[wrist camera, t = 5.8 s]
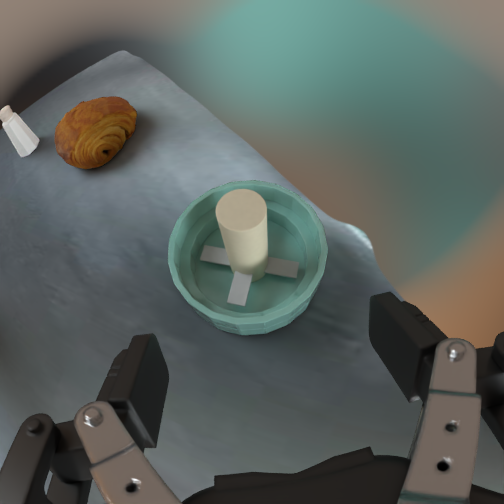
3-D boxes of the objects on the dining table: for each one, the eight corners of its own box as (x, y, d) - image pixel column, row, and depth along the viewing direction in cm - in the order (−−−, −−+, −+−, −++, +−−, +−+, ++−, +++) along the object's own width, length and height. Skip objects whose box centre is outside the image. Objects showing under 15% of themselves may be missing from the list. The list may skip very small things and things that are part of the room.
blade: (190, 300, 33) (157, 256, 23) (216, 217, 37) (199, 153, 27) (288, 320, 32) (296, 283, 22) (304, 232, 36) (315, 169, 26)
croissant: (82, 195, 44) (59, 168, 36) (56, 141, 48) (37, 115, 40) (156, 142, 47) (144, 109, 39) (119, 97, 51) (106, 67, 43)
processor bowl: (156, 287, 34) (138, 267, 30) (232, 190, 40) (227, 161, 35) (272, 363, 30) (272, 356, 25) (341, 246, 35) (352, 221, 30)
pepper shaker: (40, 147, 48) (13, 108, 38) (19, 162, 47) (-10, 125, 37) (39, 133, 50) (15, 95, 40) (19, 147, 49) (-7, 111, 39)
